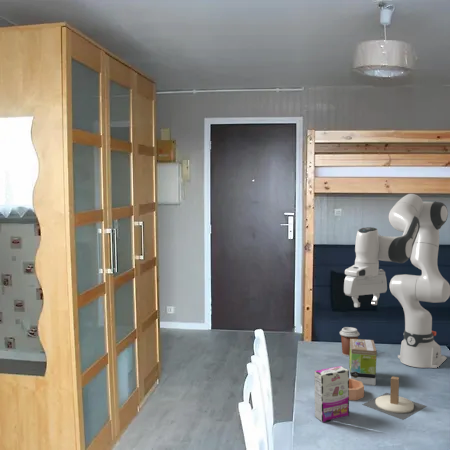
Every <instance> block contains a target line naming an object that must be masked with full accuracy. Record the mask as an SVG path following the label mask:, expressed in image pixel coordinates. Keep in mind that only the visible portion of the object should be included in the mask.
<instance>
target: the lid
mask: <svg viewBox="0 0 450 450" xmlns="http://www.w3.org/2000/svg"><path fill="white" fill-rule="evenodd" d="M399 390H400V377H398V376H391V378H390V393H389V394H390V395H384V396H381V395H379V396H380V397H379V396H377V397H378V398H377V397H375V398H376V400H375V404H376V406H377V407H378V408H380V409H382V410H384V411H387V412H391V413H408V412H411V411H412V410H413V409H414V404H413V402H414V401H413V402H412V400H410V399H409V398H406V397H403V396H400V391H399Z"/></svg>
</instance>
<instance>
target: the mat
mask: <svg viewBox="0 0 450 450" xmlns="http://www.w3.org/2000/svg"><path fill="white" fill-rule="evenodd" d="M384 395H390V393H389V392H385V393H383V394H381V395H379V396H377V397H375V398H373V399H371V400H368V401H366V402H364V403H362V405H363V406H364V407H367V408H370V409H373V410H376V411H378V412H380V413H383V414H387V415H389V416H392V417H394V418H397V419H399V420H402V421H404V420H406V419H407V418H409V417H411V416H413V415H414V414H416V413H418V412H420V411H421V410H423V409H425V408H427V407H428V406H427V405H424V404H422V403H419V402H416V401H412V400H411V401H412V402H413V404H414V409H413V410H412V411H411V412H408V413H391V412H387V411H384V410H382V409H380V408H378V407H377V406H376V404H375V400H376V398H378V397H380V396H384Z"/></svg>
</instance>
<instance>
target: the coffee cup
mask: <svg viewBox="0 0 450 450" xmlns="http://www.w3.org/2000/svg"><path fill="white" fill-rule="evenodd" d="M360 334H361V333H360V332H359V331H358V329H357V328H356V327H352V326H350V327H349V326H344V327H343V328H341V330H340V331H339V335H340V337H341V353H342V355H343V356H345V357H349V356H350V339H359V336H360Z"/></svg>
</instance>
